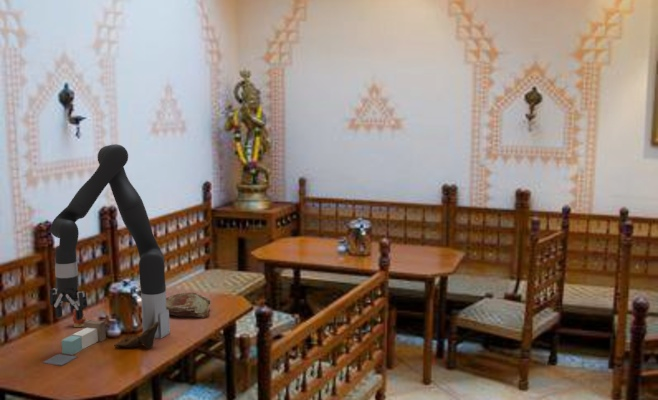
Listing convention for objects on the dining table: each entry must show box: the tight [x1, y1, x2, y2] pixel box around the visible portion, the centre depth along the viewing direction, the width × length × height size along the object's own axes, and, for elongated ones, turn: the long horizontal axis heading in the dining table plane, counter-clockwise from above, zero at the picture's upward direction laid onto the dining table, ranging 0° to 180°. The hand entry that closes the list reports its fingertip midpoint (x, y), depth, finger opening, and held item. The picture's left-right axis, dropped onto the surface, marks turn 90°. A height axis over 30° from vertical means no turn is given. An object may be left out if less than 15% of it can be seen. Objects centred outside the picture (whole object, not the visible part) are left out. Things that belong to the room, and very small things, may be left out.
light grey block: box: [70, 319, 107, 350], centre depth 268 cm, size 7×12×7 cm, turn 161°
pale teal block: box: [61, 335, 83, 356], centre depth 260 cm, size 4×5×5 cm
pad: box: [42, 353, 78, 366], centre depth 252 cm, size 8×8×1 cm
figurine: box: [69, 300, 86, 328], centre depth 287 cm, size 6×6×12 cm
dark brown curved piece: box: [113, 322, 159, 350], centre depth 264 cm, size 8×10×15 cm
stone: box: [166, 291, 211, 319], centre depth 303 cm, size 24×18×6 cm
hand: (69, 318), depth 258 cm, fingers open, 8 cm apart
